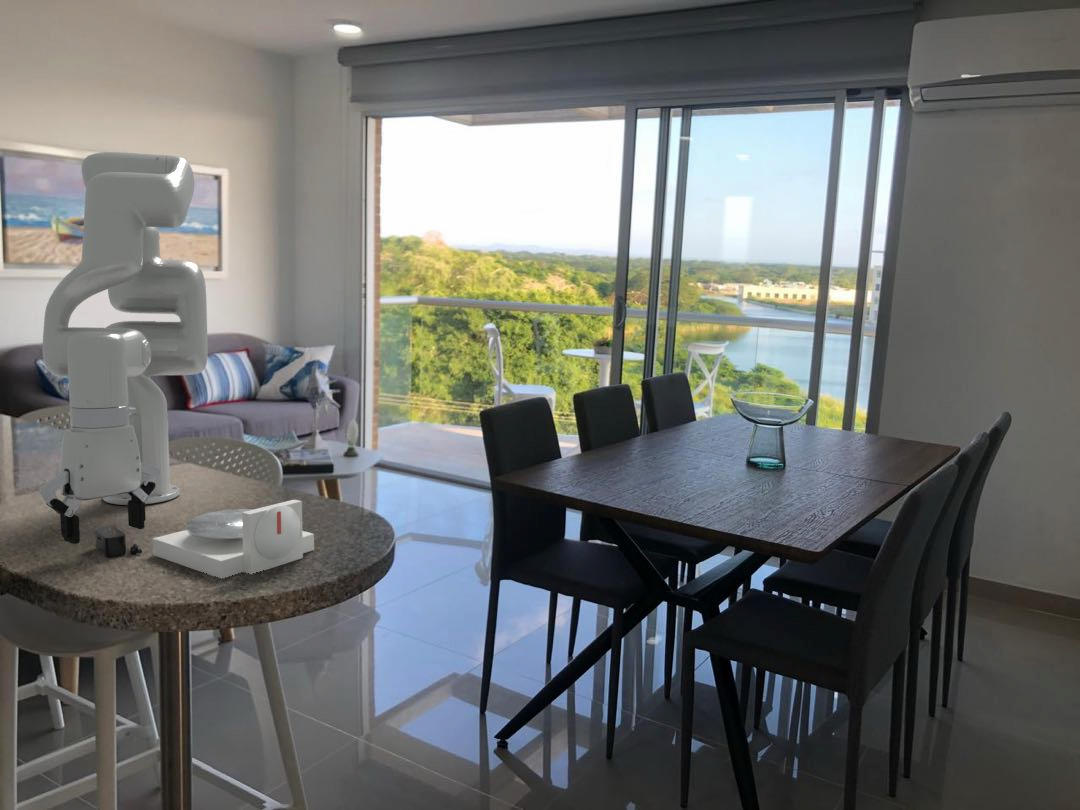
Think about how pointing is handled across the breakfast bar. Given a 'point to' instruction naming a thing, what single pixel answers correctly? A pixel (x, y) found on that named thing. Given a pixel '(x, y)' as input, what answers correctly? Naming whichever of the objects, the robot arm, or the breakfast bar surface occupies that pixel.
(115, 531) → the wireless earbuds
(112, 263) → the robot arm
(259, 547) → the kitchen scale
